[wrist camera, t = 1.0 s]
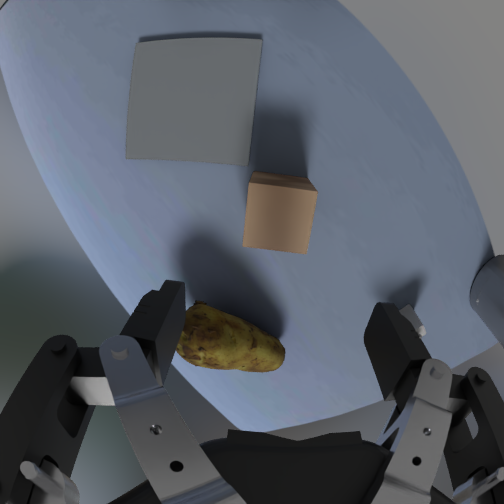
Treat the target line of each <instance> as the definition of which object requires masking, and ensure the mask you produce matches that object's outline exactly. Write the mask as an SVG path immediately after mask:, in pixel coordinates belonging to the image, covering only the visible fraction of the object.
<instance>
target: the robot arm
mask: <svg viewBox="0 0 504 504" xmlns="http://www.w3.org/2000/svg"><path fill="white" fill-rule="evenodd" d="M470 304H471V306H472V308H473V310H474V311H475V312H476V313H477V314H478V316H479V317H480V318H481V319H482V320H483V322H484V323H485V324H486V326H487V327H488V328H489V329H490V331H491V332H492V333H493V335H494V336H495V337H496V339H497V340H498V341H499V343H500V344H501V345H502V347H503V348H504V255H498V256H496V257H494V258H492V259H491V260H489V261H488V262H487V263H486V264H485V265H484V266H483V268H482V269H481V270H480V272H479V273H478V275H477V277H476V279H475V281H474V283H473V286H472V289H471V293H470ZM185 317H186V306H185V283H184V282H180V281H172V280H165V282H164V283H163V285H162V287H161V289H160V290H159V291H157V290H151V291H150V292H148V293H147V294H145V295H144V296H143V297H142V299H141V300H140V302H139V303H138V306H137V307H136V308H135V310H134V312H133V313H132V315H131V316H130V318H129V320H128V321H127V323H126V325H125V326H124V328H123V330H122V331H121V333H120V335H117V336H113V337H110V338H108V339H107V340H105V341H104V342H103V343H102V344H101V346H100V347H95V348H90V347H85V348H83V347H78V346H77V343H76V341H75V340H74V339H73V338H72V337H70V336H68V335H57V336H53V337H51V338H49V339H48V340H47V341H46V342H45V343H44V344H43V346H42V347H41V349H40V350H39V352H38V353H37V354H36V356H35V357H34V359H33V361H32V362H31V363H30V365H29V367H28V368H27V370H26V371H25V373H24V374H23V376H22V378H21V379H20V381H19V383H18V384H17V386H16V388H15V389H14V391H13V393H12V394H11V396H10V398H9V400H8V402H7V403H6V405H5V407H4V408H3V411H2V412H1V414H0V504H79V491H78V488H77V486H76V484H75V483H74V482H73V481H72V480H71V479H70V477H71V474H72V470H73V467H74V464H75V461H76V458H77V455H78V452H79V449H80V446H81V444H82V441H83V438H84V435H85V432H86V430H87V427H88V424H89V422H90V419H91V417H92V414H93V411H94V409H95V407H96V405H115V406H116V409H117V412H118V414H119V417H120V419H121V422H122V424H123V427H124V429H125V432H126V434H127V436H128V439H129V441H130V443H131V445H132V447H133V450H134V452H135V454H136V456H137V458H138V460H139V462H140V464H141V466H142V468H143V470H144V472H145V474H146V476H147V478H148V479H147V480H146V481H144V482H143V483H141V484H139V485H138V486H136V487H135V488H133V489H132V490H130V491H128V492H127V493H125V494H123V495H122V496H120V497H118V498H117V499H115V500H113V501H112V502H110V503H108V504H504V402H503V400H502V398H501V396H500V394H499V392H498V390H497V388H496V387H495V385H494V383H493V381H492V379H491V377H490V376H489V374H488V373H487V372H486V371H484V370H483V369H481V368H478V367H472V368H470V369H469V370H468V372H467V373H466V375H465V376H461V375H455V374H452V371H451V369H450V368H449V367H448V365H447V364H445V363H444V362H442V361H440V360H438V359H432V358H431V356H430V354H429V352H428V350H427V349H426V347H425V345H424V343H423V342H422V340H421V338H419V335H418V333H417V332H416V330H415V328H414V326H413V325H412V323H411V322H410V321H409V320H408V319H407V318H406V317H405V316H403V315H401V313H400V312H399V310H398V308H397V307H396V305H395V304H394V303H381V302H378V303H377V304H376V305H375V307H374V309H373V312H372V315H371V317H370V320H369V322H368V325H367V327H366V329H365V333H364V344H365V347H366V350H367V352H368V355H369V358H370V360H371V363H372V366H373V369H374V371H375V374H376V377H377V380H378V383H379V386H380V389H381V392H382V395H383V398H384V401H391V400H396V405H395V406H394V407H393V409H392V411H391V414H390V416H389V418H388V420H387V422H386V424H385V426H384V428H383V430H382V432H381V434H380V436H379V438H378V440H377V441H376V443H373V442H369V441H365V440H362V438H361V434H360V431H356V432H342V433H329V434H325V435H322V436H318V437H314V438H310V439H306V440H301V441H295V440H291V439H286V438H282V437H278V436H274V435H270V434H267V433H263V432H251V431H240V430H230V429H228V435H227V438H220V439H215V440H210V441H207V442H204V443H201V444H198V443H197V441H196V439H195V438H194V436H193V435H192V433H191V432H190V430H189V428H188V427H187V425H186V424H185V422H184V420H183V419H182V417H181V415H180V414H179V412H178V411H177V409H176V407H175V405H174V403H173V402H172V400H171V398H170V396H169V395H168V393H167V391H166V390H165V388H164V387H163V385H164V382H165V379H166V376H167V373H168V370H169V367H170V364H171V362H172V359H173V356H174V353H175V350H176V347H177V345H178V342H179V339H180V336H181V333H182V331H183V328H184V324H185ZM471 412H473V414H474V417H475V419H476V421H477V424H478V428H479V429H478V434H477V436H476V437H475V438H474V439H473V438H472V436H471V433H470V431H469V427H468V425H467V422H466V420H465V418H466V417H467V416H468V415H469V414H470V413H471ZM443 452H444V455H445V459H446V463H447V466H448V470H449V474H450V478H451V482H452V487H453V491H454V494H453V499H452V500H451V499H449V498H448V497H447V496H445V495H444V494H443V493H441V492H440V491H439V490H437V489H436V488H435V487H433V486H432V483H433V481H434V478H435V475H436V472H437V469H438V466H439V463H440V460H441V456H442V453H443Z"/></svg>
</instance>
